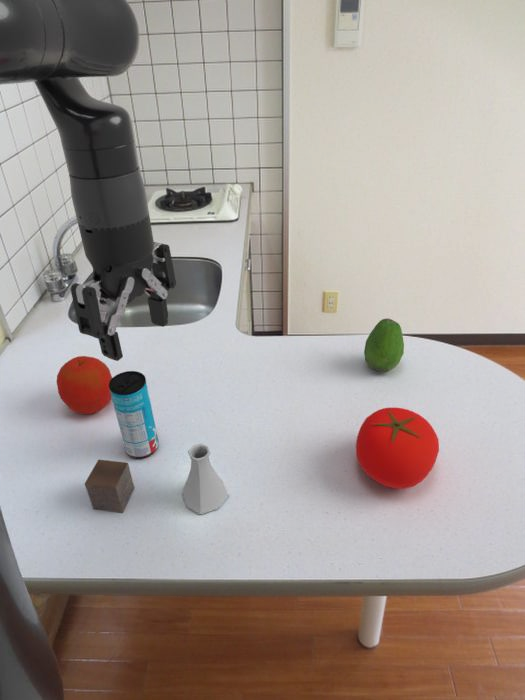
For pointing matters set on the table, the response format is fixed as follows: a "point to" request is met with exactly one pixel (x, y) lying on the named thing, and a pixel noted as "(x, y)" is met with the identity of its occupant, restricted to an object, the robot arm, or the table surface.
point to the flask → (203, 483)
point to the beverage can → (134, 413)
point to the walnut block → (110, 486)
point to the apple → (84, 384)
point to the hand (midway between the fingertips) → (138, 340)
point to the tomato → (397, 447)
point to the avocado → (384, 346)
